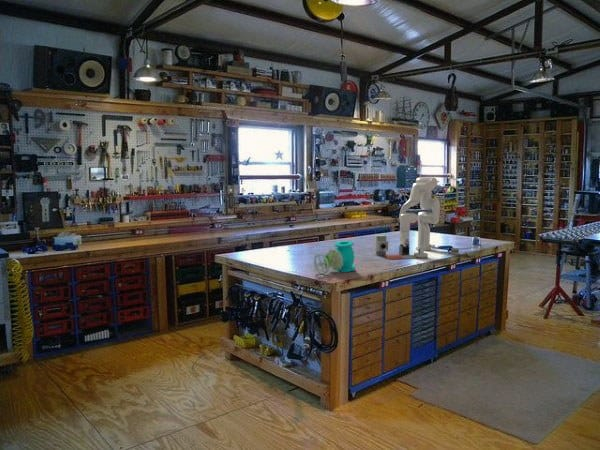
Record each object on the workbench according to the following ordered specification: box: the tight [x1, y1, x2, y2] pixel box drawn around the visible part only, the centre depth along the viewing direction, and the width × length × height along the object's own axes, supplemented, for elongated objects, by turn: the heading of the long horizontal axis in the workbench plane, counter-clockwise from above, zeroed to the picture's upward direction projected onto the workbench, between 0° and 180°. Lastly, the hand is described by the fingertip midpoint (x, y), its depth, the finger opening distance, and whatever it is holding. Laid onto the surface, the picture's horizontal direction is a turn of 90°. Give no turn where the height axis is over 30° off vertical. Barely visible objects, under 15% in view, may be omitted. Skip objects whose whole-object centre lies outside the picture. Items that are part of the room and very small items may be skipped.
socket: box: [398, 244, 410, 255], centre depth 390 cm, size 6×6×7 cm
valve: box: [313, 240, 356, 276], centre depth 325 cm, size 14×18×30 cm
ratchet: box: [384, 248, 429, 260], centre depth 376 cm, size 33×10×7 cm, turn 101°
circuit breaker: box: [372, 234, 389, 256], centre depth 389 cm, size 8×14×15 cm, turn 11°
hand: (404, 251), depth 390 cm, fingers open, 9 cm apart
